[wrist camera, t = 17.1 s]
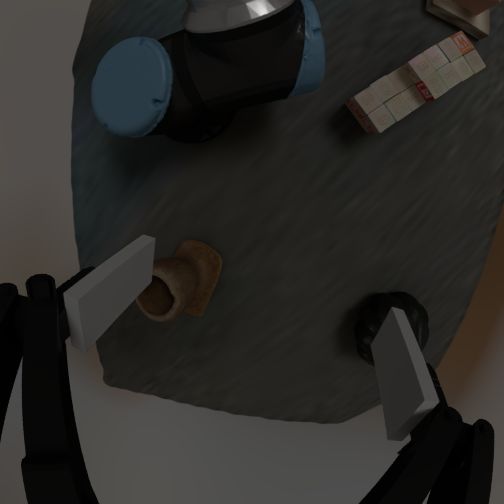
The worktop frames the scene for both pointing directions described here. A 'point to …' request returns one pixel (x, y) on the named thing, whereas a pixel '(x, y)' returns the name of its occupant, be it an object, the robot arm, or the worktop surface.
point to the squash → (377, 314)
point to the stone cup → (181, 282)
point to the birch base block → (461, 17)
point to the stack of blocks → (415, 83)
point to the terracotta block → (477, 5)
